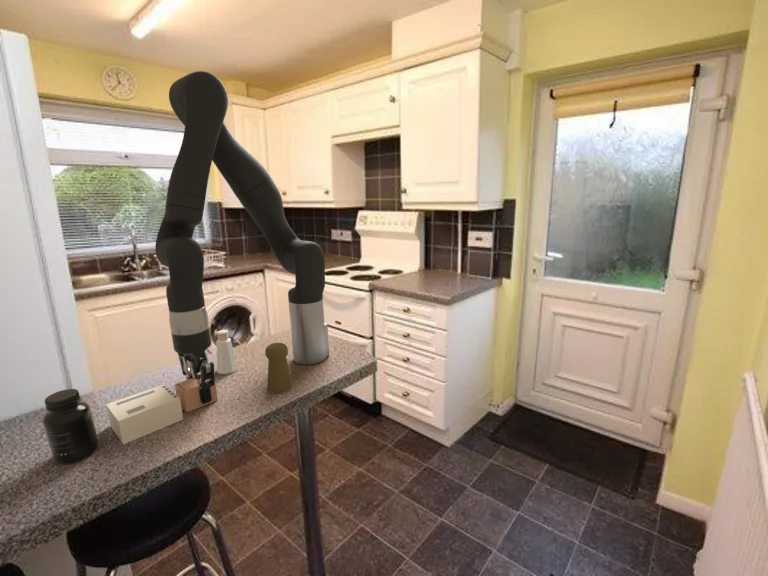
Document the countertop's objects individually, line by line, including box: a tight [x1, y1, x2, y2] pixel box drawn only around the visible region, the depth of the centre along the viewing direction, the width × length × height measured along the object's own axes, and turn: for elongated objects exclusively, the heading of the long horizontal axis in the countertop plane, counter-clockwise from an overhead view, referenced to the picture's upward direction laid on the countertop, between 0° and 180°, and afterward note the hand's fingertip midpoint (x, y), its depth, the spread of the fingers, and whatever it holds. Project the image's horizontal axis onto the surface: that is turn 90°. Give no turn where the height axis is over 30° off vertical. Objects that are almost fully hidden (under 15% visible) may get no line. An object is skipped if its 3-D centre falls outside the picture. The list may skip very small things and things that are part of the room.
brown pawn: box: [264, 342, 294, 394], centre depth 95 cm, size 6×6×11 cm
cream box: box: [105, 384, 184, 445], centre depth 82 cm, size 11×9×5 cm
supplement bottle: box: [42, 388, 100, 465], centre depth 72 cm, size 7×7×12 cm
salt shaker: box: [215, 329, 239, 375], centre depth 104 cm, size 5×5×11 cm
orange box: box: [174, 378, 219, 413], centre depth 89 cm, size 7×5×5 cm
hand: (201, 397), depth 90 cm, fingers closed on orange box, 5 cm apart
